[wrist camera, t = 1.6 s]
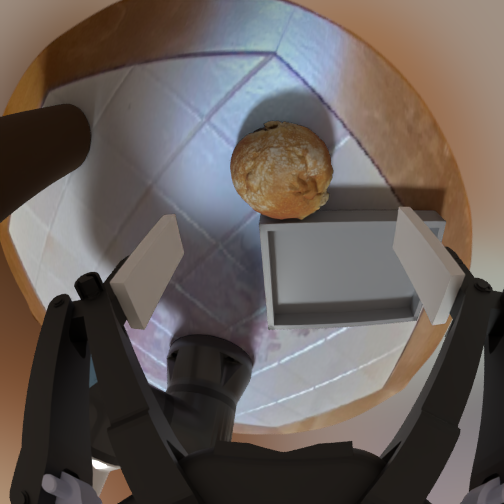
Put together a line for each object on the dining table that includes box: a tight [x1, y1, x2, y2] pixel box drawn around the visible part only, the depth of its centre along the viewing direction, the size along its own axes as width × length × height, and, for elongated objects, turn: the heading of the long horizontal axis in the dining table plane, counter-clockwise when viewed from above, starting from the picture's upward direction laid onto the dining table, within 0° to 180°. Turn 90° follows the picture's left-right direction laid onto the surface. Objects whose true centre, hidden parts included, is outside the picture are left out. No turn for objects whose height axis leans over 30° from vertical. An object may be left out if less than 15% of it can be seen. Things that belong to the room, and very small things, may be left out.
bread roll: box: [230, 121, 333, 220], centre depth 27 cm, size 10×10×8 cm
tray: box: [259, 210, 446, 330], centre depth 33 cm, size 22×16×3 cm
